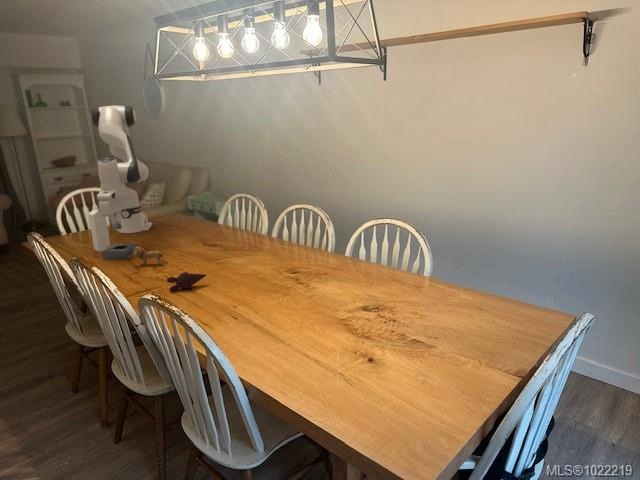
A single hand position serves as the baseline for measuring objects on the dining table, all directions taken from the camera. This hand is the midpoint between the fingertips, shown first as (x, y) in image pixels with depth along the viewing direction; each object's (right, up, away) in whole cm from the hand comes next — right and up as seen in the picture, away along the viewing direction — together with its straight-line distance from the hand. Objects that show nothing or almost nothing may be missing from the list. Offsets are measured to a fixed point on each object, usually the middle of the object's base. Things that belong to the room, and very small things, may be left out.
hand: (116, 221), depth 217 cm
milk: (-14, -14, +15) cm, 24 cm away
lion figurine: (+20, -20, -10) cm, 30 cm away
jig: (0, -16, +5) cm, 17 cm away
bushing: (0, -3, +1) cm, 3 cm away
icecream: (+45, -28, -37) cm, 65 cm away
